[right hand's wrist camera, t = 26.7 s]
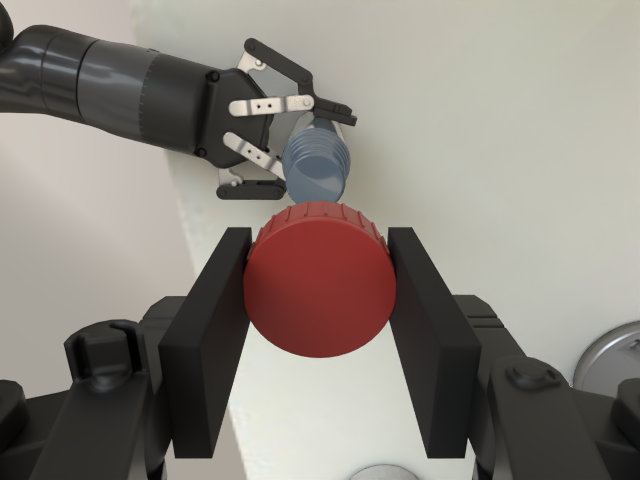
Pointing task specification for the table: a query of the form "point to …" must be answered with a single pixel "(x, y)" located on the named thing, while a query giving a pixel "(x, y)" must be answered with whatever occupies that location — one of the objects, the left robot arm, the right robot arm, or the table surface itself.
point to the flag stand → (384, 473)
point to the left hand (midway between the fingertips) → (345, 151)
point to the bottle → (315, 160)
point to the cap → (319, 280)
